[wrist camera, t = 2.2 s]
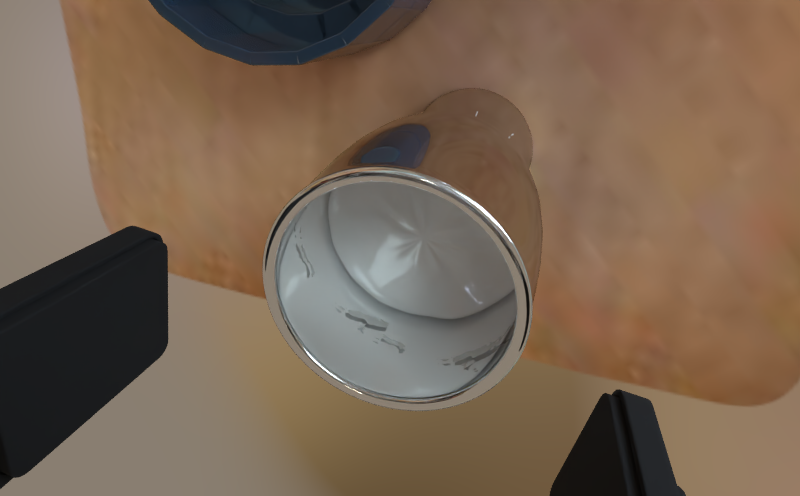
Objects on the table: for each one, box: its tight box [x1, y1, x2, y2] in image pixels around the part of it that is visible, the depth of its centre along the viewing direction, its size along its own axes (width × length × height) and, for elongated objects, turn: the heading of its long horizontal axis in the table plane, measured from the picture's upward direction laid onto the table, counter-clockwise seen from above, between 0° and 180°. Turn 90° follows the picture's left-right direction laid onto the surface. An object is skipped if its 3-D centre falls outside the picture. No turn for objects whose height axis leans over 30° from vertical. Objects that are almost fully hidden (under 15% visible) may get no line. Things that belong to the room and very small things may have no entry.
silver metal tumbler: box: [263, 88, 543, 411], centre depth 18 cm, size 7×7×15 cm
